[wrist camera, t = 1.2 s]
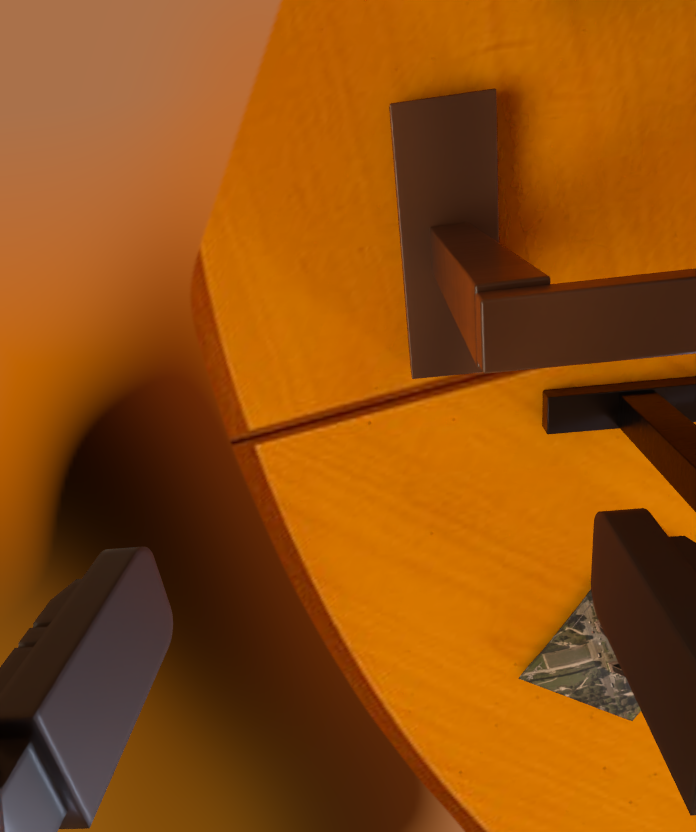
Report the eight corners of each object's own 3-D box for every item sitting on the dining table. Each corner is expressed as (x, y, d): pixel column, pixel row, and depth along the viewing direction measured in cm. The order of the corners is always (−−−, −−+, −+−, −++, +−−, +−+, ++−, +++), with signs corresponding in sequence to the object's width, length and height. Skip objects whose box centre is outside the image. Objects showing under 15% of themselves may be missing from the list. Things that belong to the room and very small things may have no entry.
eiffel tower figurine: (630, 523, 38) (750, 696, 25) (760, 575, 39) (935, 766, 26) (517, 674, 43) (570, 873, 31) (632, 715, 44) (727, 924, 32)
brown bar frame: (410, 370, 34) (438, 561, 18) (389, 106, 29) (400, 27, 12) (583, 353, 33) (783, 539, 17) (595, 77, 28) (912, -53, 11)
